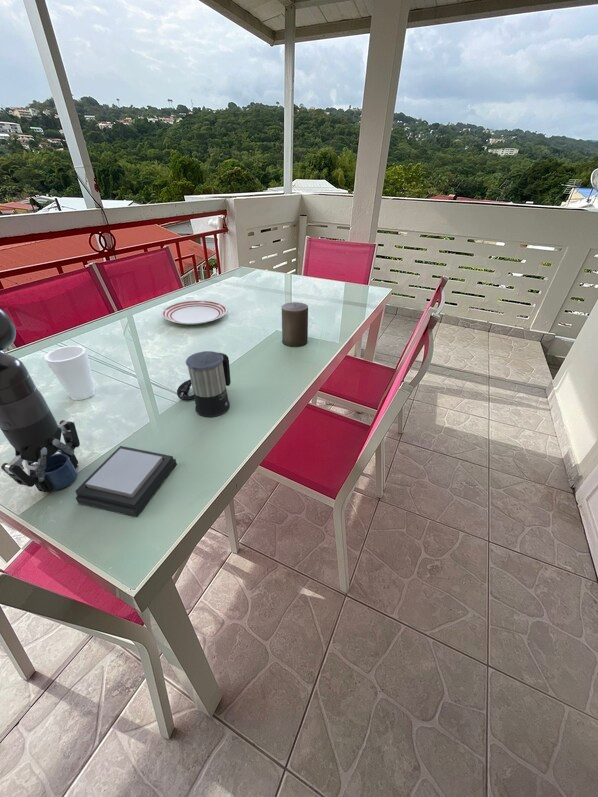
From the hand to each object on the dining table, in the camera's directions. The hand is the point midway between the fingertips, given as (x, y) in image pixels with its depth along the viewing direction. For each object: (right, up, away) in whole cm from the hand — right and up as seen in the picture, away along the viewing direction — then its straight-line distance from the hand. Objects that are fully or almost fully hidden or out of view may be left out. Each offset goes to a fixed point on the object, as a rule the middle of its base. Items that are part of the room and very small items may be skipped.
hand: (61, 478), depth 68 cm
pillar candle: (+48, +38, +57) cm, 84 cm away
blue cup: (0, 0, 0) cm, 1 cm away
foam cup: (-13, +18, +27) cm, 34 cm away
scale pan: (+14, +1, -1) cm, 14 cm away
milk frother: (+22, +15, +24) cm, 36 cm away
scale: (+14, -1, 0) cm, 14 cm away
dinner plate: (+4, +52, +77) cm, 93 cm away
